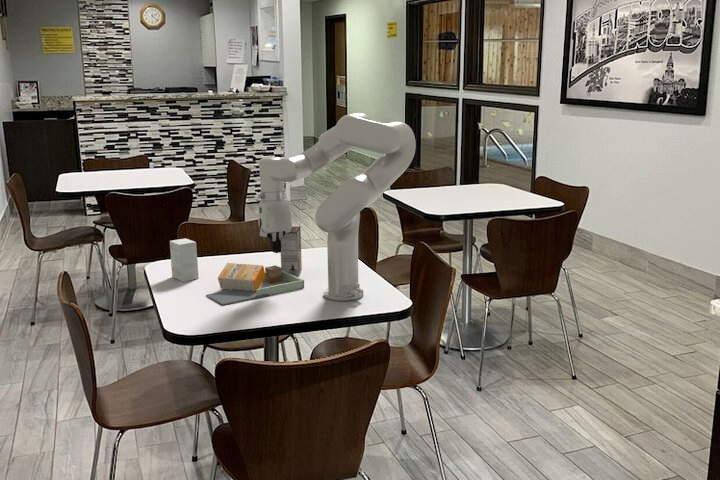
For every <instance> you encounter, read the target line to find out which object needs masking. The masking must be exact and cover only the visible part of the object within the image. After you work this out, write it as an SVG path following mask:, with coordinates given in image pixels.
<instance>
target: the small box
mask: <svg viewBox="0 0 720 480" xmlns="http://www.w3.org/2000/svg"><path fill="white" fill-rule="evenodd" d="M169 250H170V252H169V253H170V266H171V278H174V279H176V280H178V281H180V282H182V283H183V282H187V281H192V280H196V279H199V265H198V251H197V250H198V249H197V242H196V241H194V240H191V239H189V238H186V237H185V238H180V239H179V238H178V239H174V240H169Z"/></svg>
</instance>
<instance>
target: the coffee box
mask: <svg viewBox="0 0 720 480" xmlns="http://www.w3.org/2000/svg"><path fill="white" fill-rule="evenodd" d="M290 230H291V231H290V232H288V233H286V234H285V235H284V236H283V239H282V240H281V247H282V248H281V252H280V267H281V270H282V271H284V272H286V273H288V274H291V275H293V276H295V277H298V278H300V275H301V273H302V269H303V262H302V236H301V235H302V234H301V232H302V231H301V226H298V225H297V226H292V228H291V229H290Z"/></svg>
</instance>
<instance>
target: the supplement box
mask: <svg viewBox="0 0 720 480" xmlns="http://www.w3.org/2000/svg"><path fill="white" fill-rule="evenodd" d="M265 277H266V275H265V266H264V265H261V264H247V263H233V262H227V263H226V264H225V266H224V267H223V269H222V270H221V272H220V273H219V275H218V277H217V280H218V284H219V288H220V289H223V290H224V289H225V290H232V289H234V290H246V291H256V289H260V287H261V285H262V283H263V282H264V281H263V280H264V278H265Z"/></svg>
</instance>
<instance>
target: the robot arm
mask: <svg viewBox="0 0 720 480" xmlns="http://www.w3.org/2000/svg"><path fill="white" fill-rule="evenodd" d="M416 144H417V143H416V138H415V133H414V132H413V129H412V128H411V126H410V125H408V124H407V123H404V122H402V121H391V122H389V123H383V122H378V121H374V120H372V118H371V117H369V115H368V114H365V113H362V112H356V113H351V114H349V113H348V114H346V115H343V116H342V117H340V118H339V120H337V123H336V125H335V126H332V127H331V128H330V129H328V130H326V131H325V132H323V133H321V134H320V135H319V136H318V141H317V142H316V143H315V144H313V145H312V146H311V147H309V148H307V149H306V150H304V151H303V152H301V153H300V154H296V155H293V156H290V157H285V158H282V157H279V156H266V157H262V158H260V160H259V161H258V166H259V167H258V169H259V181H260V182H259V183H260V193H259V194H257V198H258V199H259V200H260V201H259V204H258V216H257V217H258V221H257V222H258V229H259V236H260V237H263V238H267V239H268V240H270V249H271V251H272V253H273V254H274V253H275V254H281V248H282V247H281V240H282V239H283V236H284V235H285V234H286V233H288V232H290V231H291V230H290V229H291V228H292V227H293V222H292V221H293V219H292V212H291V206H290V204H289V203H290V202H289V200H288V199H287V198H286V192H285V191H286V190H285V183H293V182H296V181H299V180H302V179H306V178H308V177H309V176H311V175H313V174H315V173H317V172H318V171H319V170H322V169H323V168H324V167H326V166H328V164H330V163H331V162H333V161H335V160H336V159H338V158H339V157H341V156H342V155H344V154H345V153H347V152H349V151H351V150H352V149H355V148H358V149H360V150H361V149H362V150H366V151H370V152H374V153H378V154H381V155H380V156H378V157H377V158H376V159H375V160H374V161H373V162H372V163H371V164H370V165H369V166H368V167H367V168H366V169H365V170H363V172H361V173H360V174H357V175H355V176H352V177H350V178H348V179H347V180H344V182H342V183H341V184H340V185H339V186H338V187H337V188H336V189H335V190H334V191H333V192H331V194H330V195H329V196H328V197H327V198H326V199H324V200H323V202H322V203H321V204H320V205H319V206H318V208H317V209H316V212H315V223H316V226H317V228H319V229H320V230H321V231H323V232H324V233H327V283H328V288H326V289H325V290H324V291H323V297H324V298H325V299H327V300H331V301H337V302H344V301H345V302H347V301H354V300H358V299H360V298H362V297H363V296H364V290H363V289H362V288H361V287H360V283H359V228H360V219H361V211H363V209H365V208H367V207H368V206H370V205H372V204H373V203H375V202H376V201H377V200H378V199H379V198H380V196H381V195H383V193H385V192H386V190H387V189H389V187H391V186H392V185H393V183H394V182H395V181H397V180H398V178H400V177H401V175H402V174H404V173H405V171H406V170H407V169H408V168H409V167H410V165H411V163H412V162H413V159H414V157H415V154H416V148H417V145H416Z"/></svg>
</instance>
